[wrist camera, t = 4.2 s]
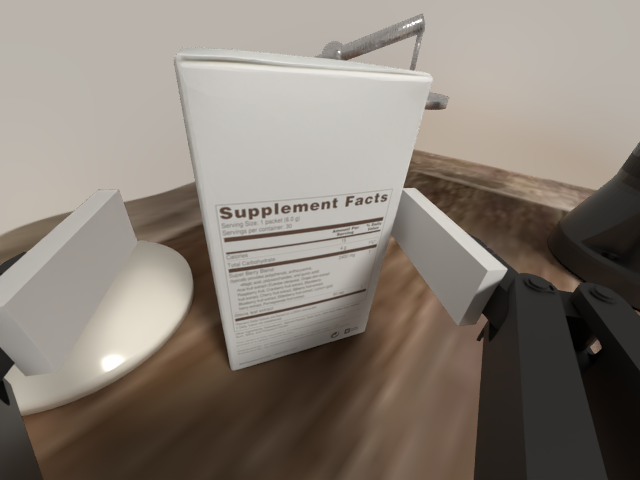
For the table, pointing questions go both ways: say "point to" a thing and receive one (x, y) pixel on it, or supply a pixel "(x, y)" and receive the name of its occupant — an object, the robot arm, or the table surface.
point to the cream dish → (116, 330)
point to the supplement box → (296, 188)
